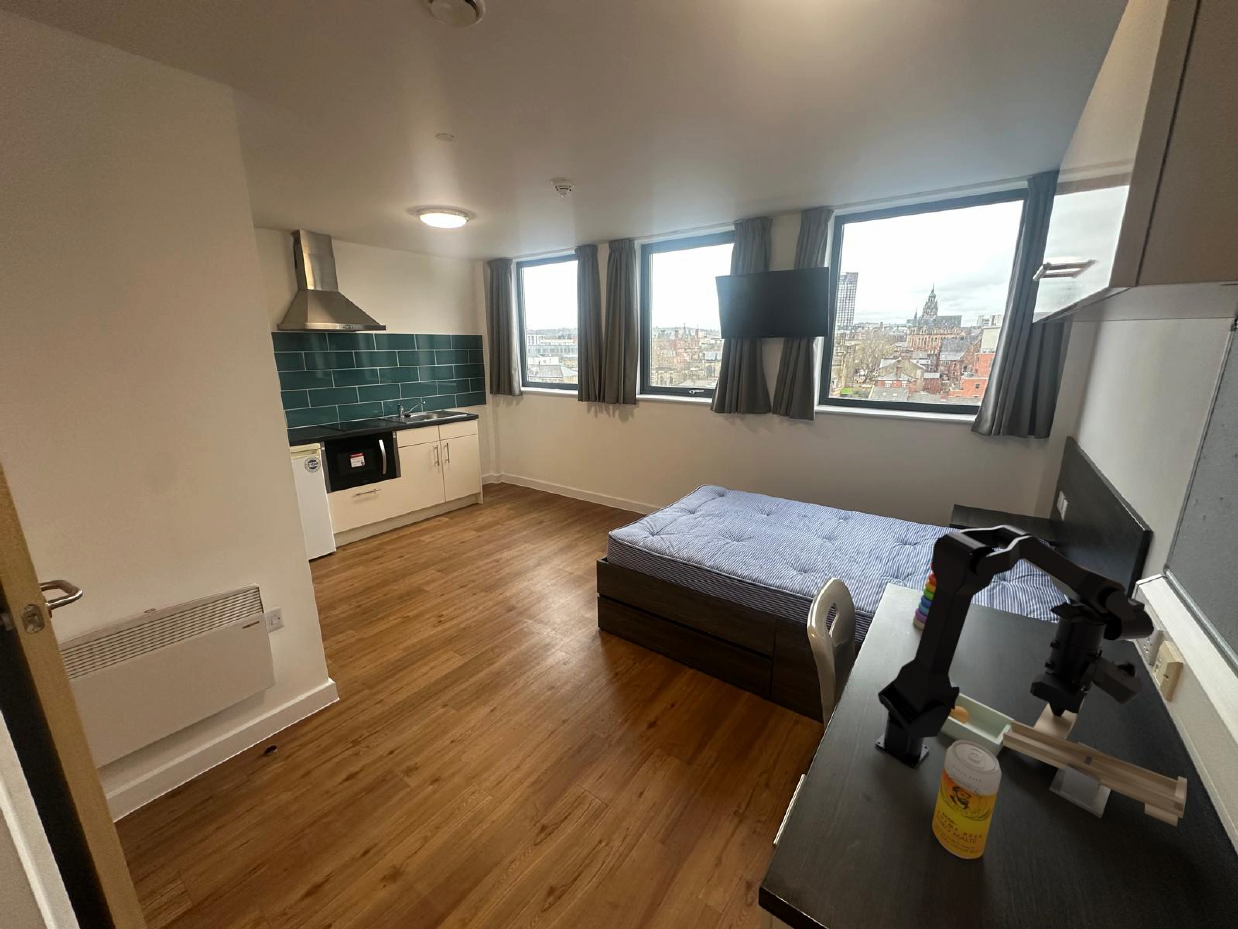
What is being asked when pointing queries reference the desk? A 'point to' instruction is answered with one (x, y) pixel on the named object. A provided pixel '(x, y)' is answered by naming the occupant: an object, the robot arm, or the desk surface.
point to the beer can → (966, 799)
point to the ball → (959, 714)
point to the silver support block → (1081, 788)
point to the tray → (978, 725)
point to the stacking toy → (925, 601)
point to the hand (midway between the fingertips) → (1056, 715)
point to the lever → (1098, 764)
